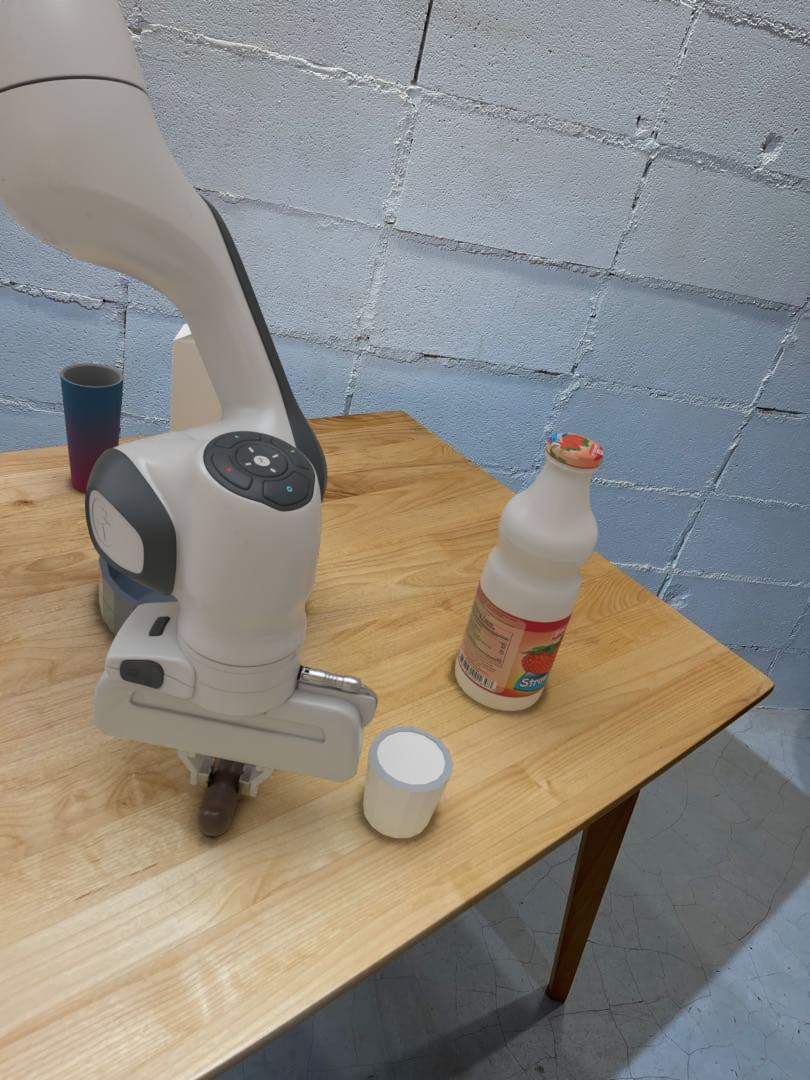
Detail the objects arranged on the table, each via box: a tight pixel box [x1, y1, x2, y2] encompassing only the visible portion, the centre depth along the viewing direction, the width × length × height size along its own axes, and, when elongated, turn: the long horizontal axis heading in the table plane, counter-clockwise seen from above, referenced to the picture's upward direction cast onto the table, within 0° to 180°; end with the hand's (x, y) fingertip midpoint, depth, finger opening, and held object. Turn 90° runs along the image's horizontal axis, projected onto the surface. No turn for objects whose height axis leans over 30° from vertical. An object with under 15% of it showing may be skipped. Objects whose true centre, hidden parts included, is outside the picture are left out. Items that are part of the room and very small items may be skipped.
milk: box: [169, 323, 222, 432], centre depth 103 cm, size 6×6×22 cm
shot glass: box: [362, 725, 454, 839], centre depth 67 cm, size 7×7×7 cm
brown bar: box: [196, 758, 251, 837], centre depth 68 cm, size 13×3×3 cm, turn 175°
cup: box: [59, 362, 125, 495], centre depth 97 cm, size 7×7×15 cm
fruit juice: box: [454, 431, 604, 712], centre depth 78 cm, size 9×9×28 cm
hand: (225, 784), depth 65 cm, fingers closed on brown bar, 2 cm apart
